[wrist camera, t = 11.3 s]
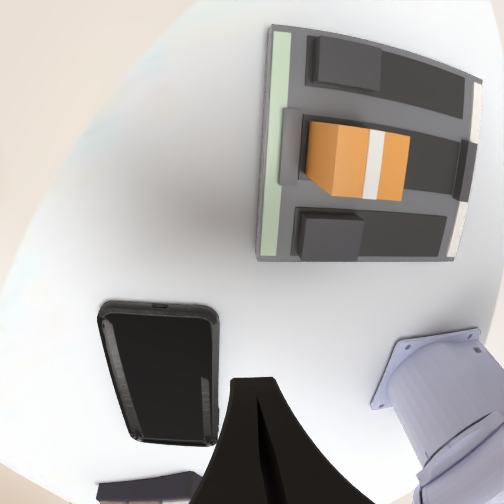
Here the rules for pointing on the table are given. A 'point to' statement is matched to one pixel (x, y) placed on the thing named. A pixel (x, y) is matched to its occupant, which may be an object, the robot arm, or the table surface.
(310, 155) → the handle
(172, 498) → the red and black box
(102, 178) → the table surface
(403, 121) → the panel
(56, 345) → the table surface
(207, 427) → the phone
